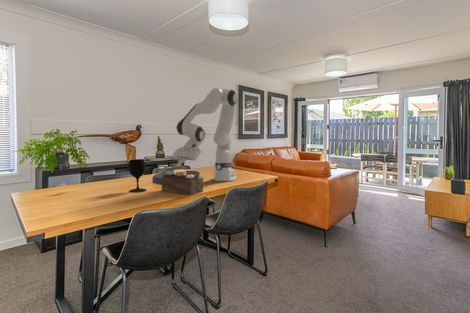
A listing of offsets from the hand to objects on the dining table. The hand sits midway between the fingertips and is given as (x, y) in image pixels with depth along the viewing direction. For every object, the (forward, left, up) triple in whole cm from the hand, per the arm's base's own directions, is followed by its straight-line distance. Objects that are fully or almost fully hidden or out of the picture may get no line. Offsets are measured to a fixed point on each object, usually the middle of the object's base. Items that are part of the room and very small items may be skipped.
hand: (179, 163), depth 173 cm
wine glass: (+18, -19, -18) cm, 32 cm away
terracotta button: (+6, +6, -7) cm, 11 cm away
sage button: (+6, -2, -7) cm, 10 cm away
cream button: (+6, +14, -8) cm, 17 cm away
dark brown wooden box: (+4, +6, -17) cm, 19 cm away
